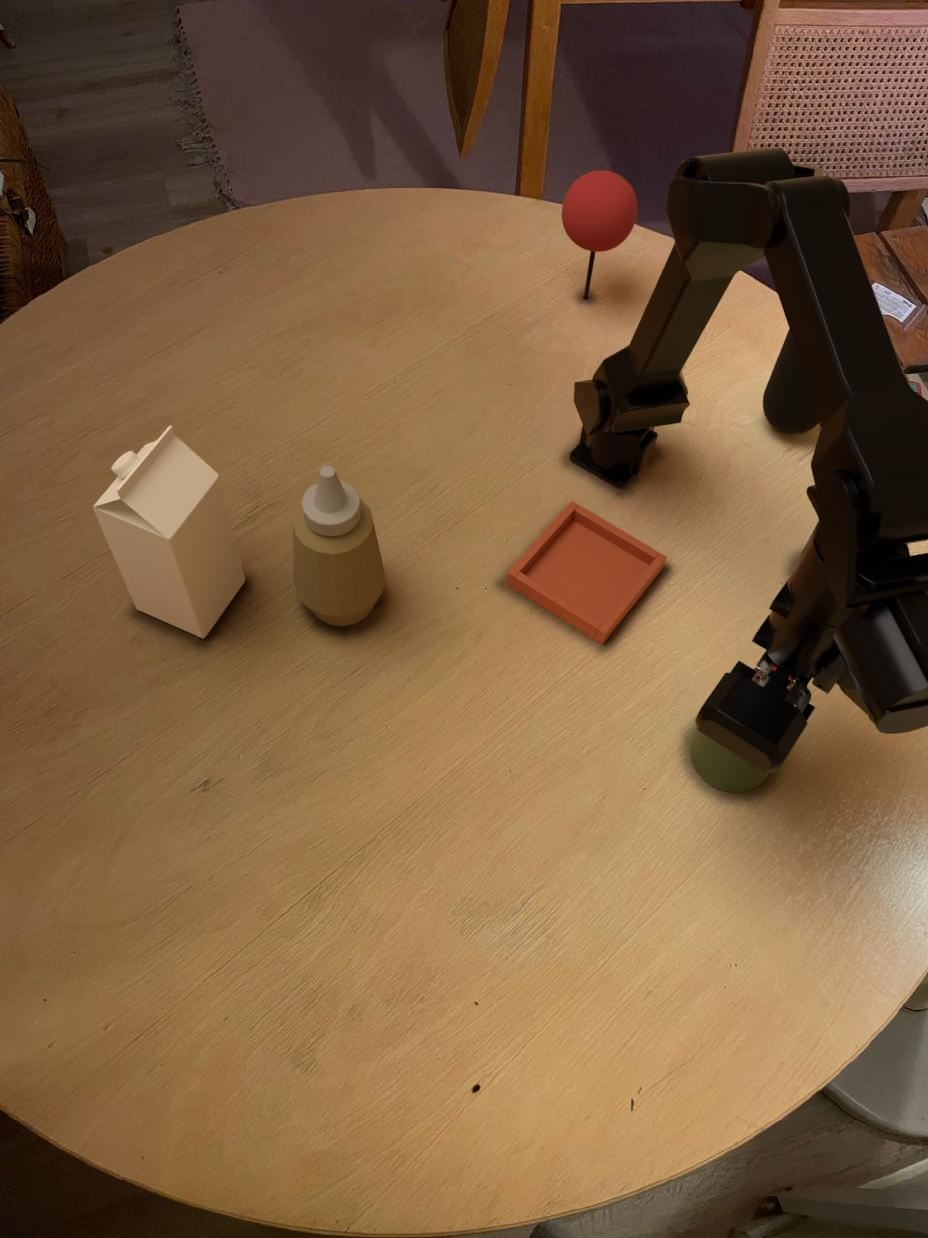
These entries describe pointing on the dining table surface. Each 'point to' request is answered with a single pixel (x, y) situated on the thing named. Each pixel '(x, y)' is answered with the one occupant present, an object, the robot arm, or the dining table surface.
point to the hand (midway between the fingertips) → (765, 703)
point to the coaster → (586, 571)
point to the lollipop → (599, 214)
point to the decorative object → (789, 394)
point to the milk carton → (172, 534)
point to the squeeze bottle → (336, 552)
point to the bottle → (722, 766)
